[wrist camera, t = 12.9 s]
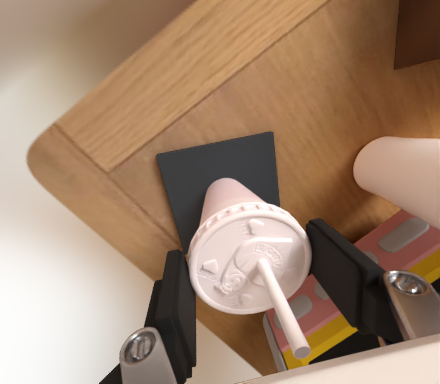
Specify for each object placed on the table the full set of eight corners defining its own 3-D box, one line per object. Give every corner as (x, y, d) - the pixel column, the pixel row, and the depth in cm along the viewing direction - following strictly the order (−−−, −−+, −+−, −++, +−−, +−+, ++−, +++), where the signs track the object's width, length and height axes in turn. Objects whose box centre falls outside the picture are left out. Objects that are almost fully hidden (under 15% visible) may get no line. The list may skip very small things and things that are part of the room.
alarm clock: (397, 189, 22) (1103, 447, 5) (445, 277, 27) (874, 556, 10) (248, 298, 25) (370, 711, 8) (317, 360, 30) (483, 692, 13)
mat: (157, 154, 18) (156, 155, 18) (271, 131, 19) (273, 131, 18) (184, 251, 22) (184, 254, 21) (280, 230, 22) (282, 233, 22)
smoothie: (272, 200, 20) (412, 356, 7) (219, 240, 21) (260, 443, 8) (232, 147, 18) (328, 234, 5) (175, 193, 19) (134, 368, 6)
